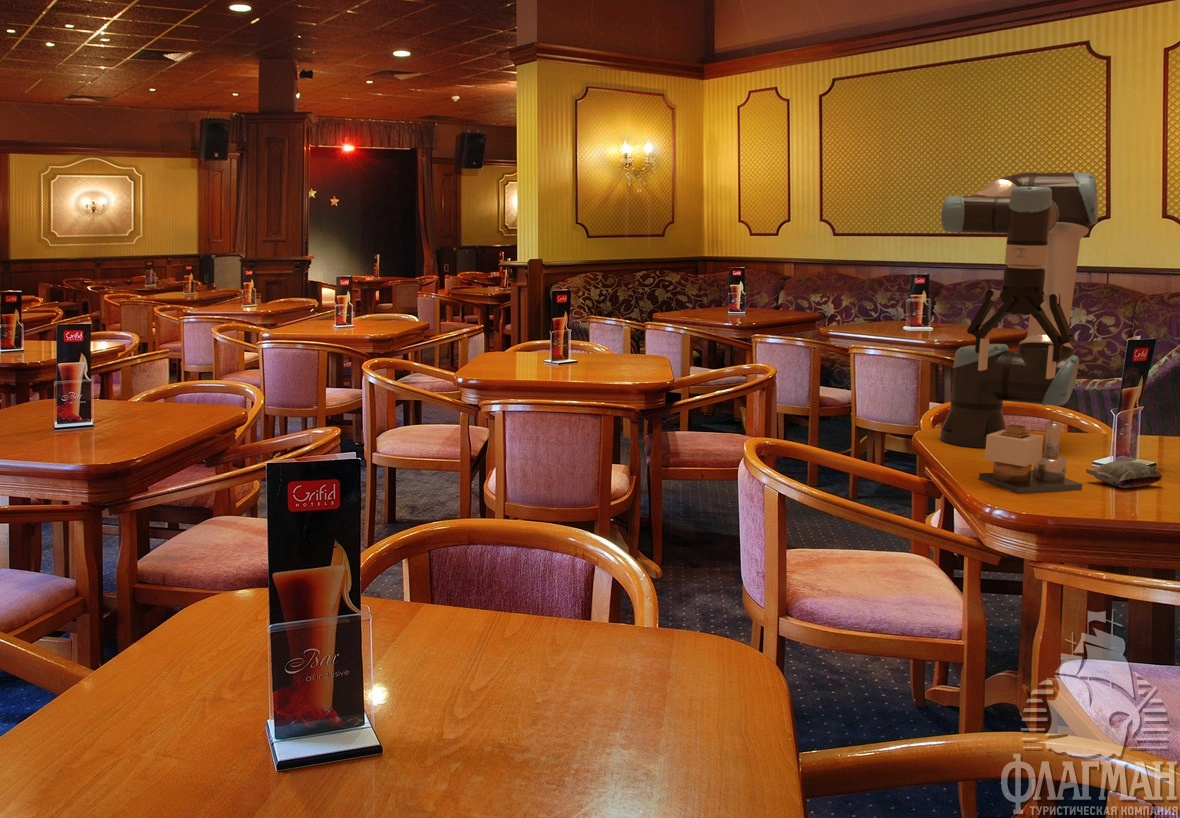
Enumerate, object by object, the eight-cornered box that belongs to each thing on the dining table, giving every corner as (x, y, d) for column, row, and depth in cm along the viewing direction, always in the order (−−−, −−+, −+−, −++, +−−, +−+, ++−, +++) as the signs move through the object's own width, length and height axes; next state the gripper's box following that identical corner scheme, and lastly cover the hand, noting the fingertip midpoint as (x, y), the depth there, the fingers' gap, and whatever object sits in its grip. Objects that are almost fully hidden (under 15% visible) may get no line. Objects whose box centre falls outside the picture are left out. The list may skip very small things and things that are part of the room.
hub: (986, 479, 215) (991, 425, 213) (1001, 473, 220) (1005, 421, 218) (1021, 485, 210) (1026, 431, 208) (1035, 479, 215) (1040, 426, 213)
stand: (1036, 472, 221) (1041, 419, 219) (1067, 476, 218) (1072, 423, 216) (1029, 478, 216) (1035, 424, 215) (1062, 482, 213) (1067, 427, 211)
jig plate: (1040, 475, 224) (1041, 469, 224) (1082, 489, 213) (1082, 483, 213) (978, 479, 220) (979, 473, 220) (1017, 493, 209) (1018, 487, 208)
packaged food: (1084, 482, 220) (1087, 458, 219) (1127, 478, 224) (1130, 455, 223) (1119, 493, 212) (1123, 468, 211) (1163, 488, 216) (1166, 464, 215)
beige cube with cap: (984, 459, 214) (986, 434, 213) (1001, 453, 220) (1003, 429, 219) (1024, 466, 208) (1027, 441, 208) (1041, 460, 214) (1043, 435, 213)
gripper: (955, 264, 217) (947, 368, 221) (1084, 271, 201) (1073, 384, 205) (971, 262, 223) (963, 364, 227) (1098, 269, 206) (1087, 379, 210)
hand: (1015, 374), depth 216 cm, fingers open, 13 cm apart
